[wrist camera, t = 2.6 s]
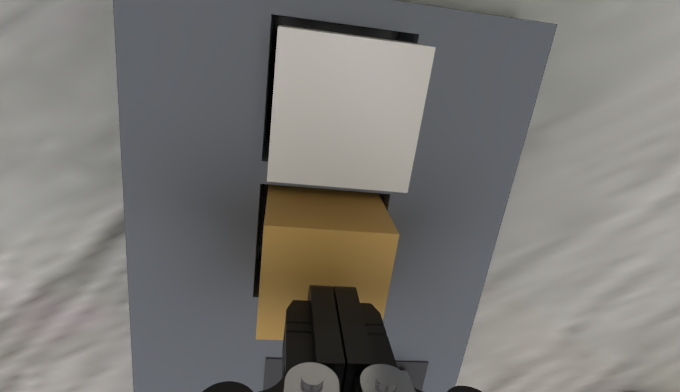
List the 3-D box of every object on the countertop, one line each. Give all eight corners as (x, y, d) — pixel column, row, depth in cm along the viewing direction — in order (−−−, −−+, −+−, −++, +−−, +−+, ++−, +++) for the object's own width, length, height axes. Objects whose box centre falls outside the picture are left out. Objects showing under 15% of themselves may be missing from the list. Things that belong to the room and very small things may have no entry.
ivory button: (280, 24, 16) (277, 26, 12) (402, 41, 16) (435, 47, 13) (271, 146, 17) (266, 181, 14) (383, 157, 18) (407, 192, 14)
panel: (140, -32, 16) (109, -42, 13) (517, 23, 19) (559, 24, 16) (154, 401, 24) (136, 453, 21) (421, 403, 26) (437, 451, 23)
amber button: (268, 182, 18) (263, 225, 14) (377, 191, 18) (399, 234, 15) (261, 278, 19) (255, 339, 16) (361, 283, 20) (378, 343, 16)
